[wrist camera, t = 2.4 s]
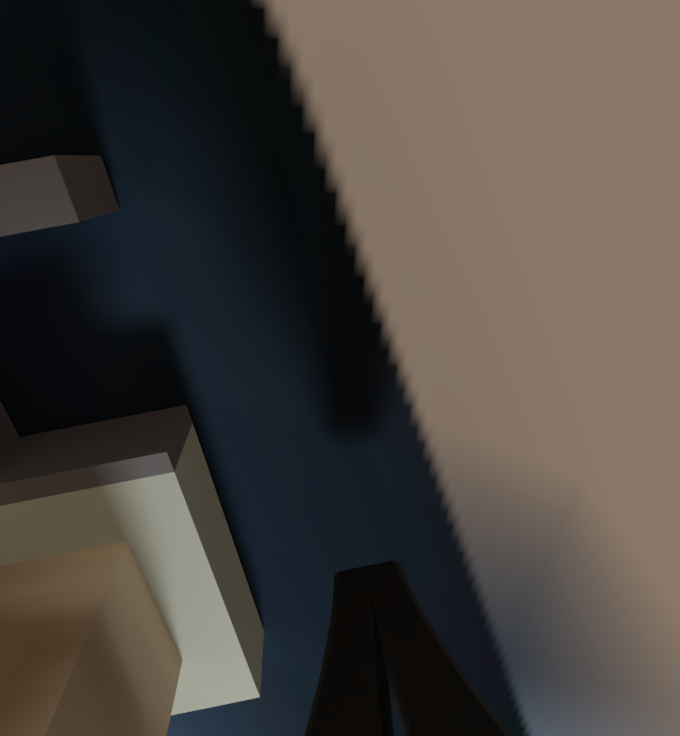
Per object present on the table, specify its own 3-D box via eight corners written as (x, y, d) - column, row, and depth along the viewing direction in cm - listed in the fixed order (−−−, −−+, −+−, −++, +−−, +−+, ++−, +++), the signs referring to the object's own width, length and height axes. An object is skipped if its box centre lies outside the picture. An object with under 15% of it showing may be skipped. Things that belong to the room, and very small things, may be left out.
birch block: (24, 692, 12) (-93, 927, 8) (-57, 577, 10) (-247, 807, 7) (182, 660, 12) (136, 879, 8) (127, 541, 10) (38, 747, 7)
